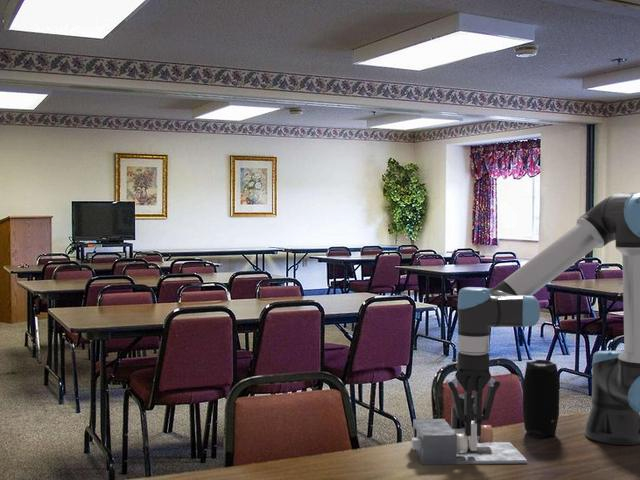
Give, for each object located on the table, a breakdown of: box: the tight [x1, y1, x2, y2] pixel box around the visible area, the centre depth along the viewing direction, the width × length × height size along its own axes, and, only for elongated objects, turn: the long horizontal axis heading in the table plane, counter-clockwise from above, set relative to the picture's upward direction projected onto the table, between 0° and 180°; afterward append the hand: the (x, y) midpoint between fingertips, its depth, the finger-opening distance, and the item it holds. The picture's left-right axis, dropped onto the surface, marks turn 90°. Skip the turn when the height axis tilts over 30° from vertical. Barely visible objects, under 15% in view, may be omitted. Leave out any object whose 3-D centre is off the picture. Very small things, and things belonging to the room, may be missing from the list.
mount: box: [412, 418, 528, 466], centre depth 188 cm, size 25×14×7 cm, turn 93°
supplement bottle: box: [450, 393, 475, 443], centre depth 198 cm, size 7×7×12 cm
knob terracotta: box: [452, 424, 494, 443], centre depth 191 cm, size 13×4×4 cm, turn 93°
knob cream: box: [410, 434, 468, 452], centre depth 184 cm, size 13×4×4 cm, turn 93°
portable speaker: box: [522, 359, 560, 439], centre depth 205 cm, size 9×9×20 cm
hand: (472, 448), depth 184 cm, fingers closed
